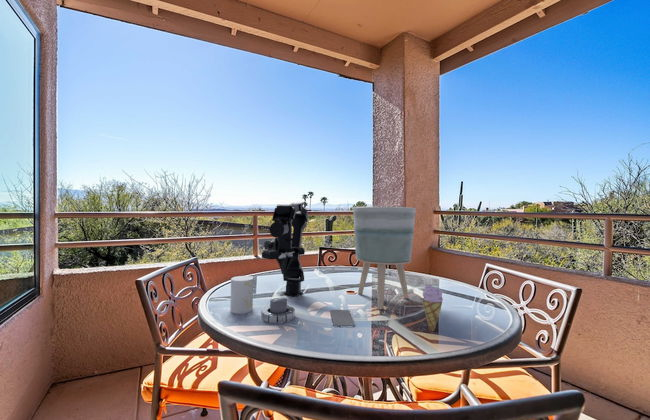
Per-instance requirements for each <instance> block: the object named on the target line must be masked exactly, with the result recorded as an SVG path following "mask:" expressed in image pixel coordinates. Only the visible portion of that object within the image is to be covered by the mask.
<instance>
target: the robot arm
mask: <svg viewBox="0 0 650 420" xmlns="http://www.w3.org/2000/svg"><path fill="white" fill-rule="evenodd" d="M308 212H309V211H308V210H307V209H306V208H305V207H303V203H301V202H292V203H289V204H285V203H284V204H283V203H282V204H280V203H279V204H276V206H275V208H274V211H273V214H272V217H271V221H272V222H273V223H271V225H270V226H269V234H270V235H271V237H273V238H274V241H272V242H271V240H266V241H264V243H263V245H264V247H263V248H264V250H263V251H262V253H261V258H262V259H264V260H276V261H277V263H278V266H279V268H280V272H281V274H282V277H283V278H282V279H283V281H285V283H286V284H285V292H283V294H284V295H287V296H290V297H297V296H299V295H303V294H304V292H303V291H301V290H302V289H301V288H302V285H301V284H302V282H304V281H305V274H304V272H305V271H304V270H303V265H302V263H301V261H300V257H301V256H303V255H305V248H304V247H301V246H302V241H303V240H302V239H303V231H304V230H305V229H306V228H307V226H308V222H309V219H310V218H309V213H308Z"/></svg>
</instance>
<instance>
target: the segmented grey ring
mask: <svg viewBox="0 0 650 420" xmlns="http://www.w3.org/2000/svg"><path fill="white" fill-rule="evenodd" d="M260 312H261V313H260V314H261V317H260V318H261V320H262V321H263V322H266V323H268V324H284V323H288V322H292V321H293V319H294V318H295V317H296V316H295V315H296V311H295V308H294V307H293V306H291V305H288V304H287V312H286V313H281V314H272V313H270V305H268V306H265V307H263V308H262V309H261V311H260Z"/></svg>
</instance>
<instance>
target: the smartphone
mask: <svg viewBox="0 0 650 420" xmlns="http://www.w3.org/2000/svg"><path fill="white" fill-rule="evenodd" d="M329 312H330V318H331V324H332V323H333V325H332V327H333V326H337V327H336V328H342V327H341V326H353V327H352V328H355V327H356V324H355V322H354V318H353V316H352V313H351V311H350V310H349V309H330V311H329ZM338 326H339V327H338ZM354 326H355V327H354Z"/></svg>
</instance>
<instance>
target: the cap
mask: <svg viewBox="0 0 650 420" xmlns="http://www.w3.org/2000/svg"><path fill="white" fill-rule="evenodd" d="M287 305H288V299H287V298H285V297H284V296H281V297H275V298H274V297H273V298H271V299H270V300H269V306H270V313H272V314H281V313H286V312H287Z"/></svg>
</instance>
